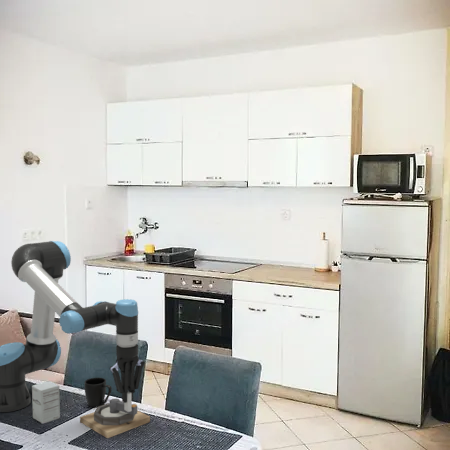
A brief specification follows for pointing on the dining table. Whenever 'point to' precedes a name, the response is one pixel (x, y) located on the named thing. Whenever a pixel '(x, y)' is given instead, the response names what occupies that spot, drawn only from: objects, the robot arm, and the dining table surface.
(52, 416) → the supplement box
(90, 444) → the dining table surface
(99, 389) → the mug
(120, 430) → the dial board
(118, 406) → the dial
